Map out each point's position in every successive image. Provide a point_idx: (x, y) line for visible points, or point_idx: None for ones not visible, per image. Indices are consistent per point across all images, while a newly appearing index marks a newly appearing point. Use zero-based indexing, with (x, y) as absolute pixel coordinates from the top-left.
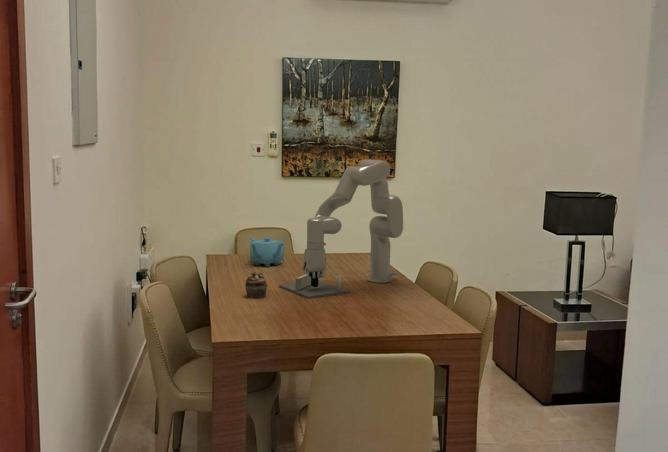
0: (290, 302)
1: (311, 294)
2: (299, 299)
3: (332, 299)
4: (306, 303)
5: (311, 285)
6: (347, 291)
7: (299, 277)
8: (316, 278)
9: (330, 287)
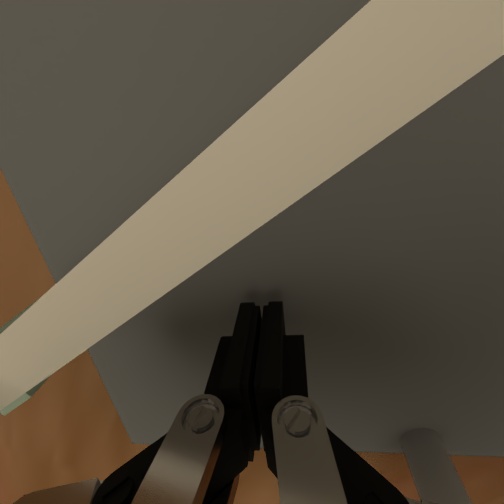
0: (25, 438)
1: (169, 422)
2: (84, 418)
3: (274, 484)
4: (106, 477)
5: (241, 305)
6: (488, 452)
7: (7, 366)
8: (264, 450)
9: (466, 318)
